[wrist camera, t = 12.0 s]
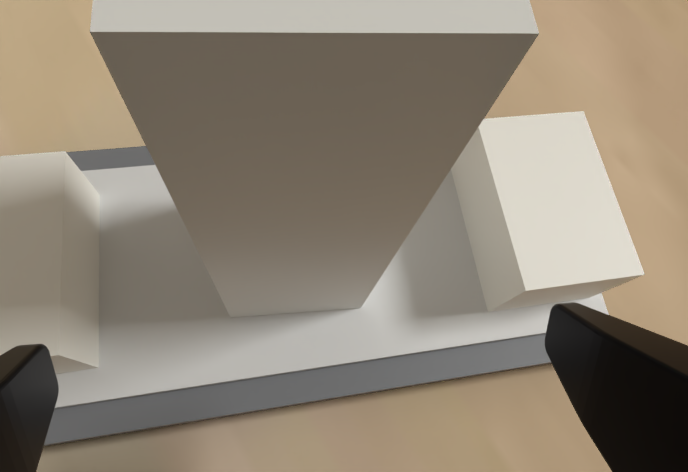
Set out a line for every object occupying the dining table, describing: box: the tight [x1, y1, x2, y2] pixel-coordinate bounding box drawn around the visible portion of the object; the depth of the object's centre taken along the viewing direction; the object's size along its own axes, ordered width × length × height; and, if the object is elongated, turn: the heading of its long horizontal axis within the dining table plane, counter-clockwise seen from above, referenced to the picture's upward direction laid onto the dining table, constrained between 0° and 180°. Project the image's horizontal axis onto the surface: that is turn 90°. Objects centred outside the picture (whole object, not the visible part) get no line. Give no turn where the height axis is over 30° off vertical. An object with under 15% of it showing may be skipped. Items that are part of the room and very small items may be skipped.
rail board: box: [0, 111, 645, 446], centre depth 17 cm, size 10×22×4 cm, turn 99°
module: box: [90, 0, 539, 318], centre depth 12 cm, size 5×4×13 cm
